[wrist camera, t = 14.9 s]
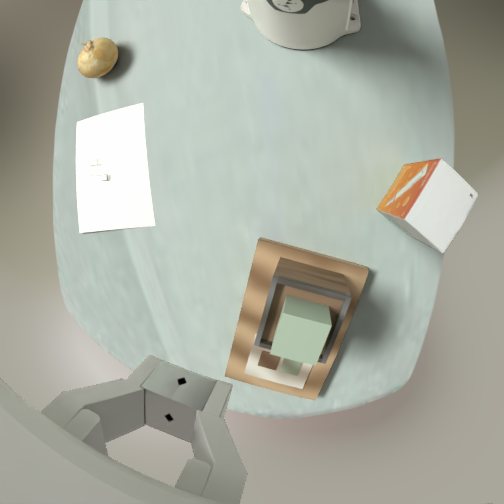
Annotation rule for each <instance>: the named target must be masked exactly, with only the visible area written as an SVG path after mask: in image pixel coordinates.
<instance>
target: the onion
mask: <svg viewBox="0 0 504 504" xmlns="http://www.w3.org/2000/svg"><path fill="white" fill-rule="evenodd" d="M82 45H85V47H84V48H83V50H82V51H81V53H80V55H79V57H78V69H79V71H80V72H81V74H82V75H84V76H85V77H88V78H98V77H101V76H103V75H105V74H106V73H108V72H109V71H110V70H111V69H112V68H113V67H114V65H115V63H116V61H117V58H118V49H117V46H116V45H115V43H114V42H113V41H111V40H110V39H108V38H97V39H95V40H93V41H91V40H89V41H88V42H87V43H86V44H83V43H82Z"/></svg>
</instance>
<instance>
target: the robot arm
mask: <svg viewBox="0 0 504 504" xmlns="http://www.w3.org/2000/svg"><path fill="white" fill-rule="evenodd" d="M241 11H242V12H243V13H244V14H245V15H246V16H248V17H249V18H251V19H252V20H253V21H254V23H255V25H256V27H257V28H258V30H259V31H260V33H261V34H262V35H263V36H264V37H266V38H267V39H268V40H270V41H272V42H273V43H275V44H278V45H280V46H283V47H287V48H292V49H315V48H320V47H323V46H326V45H328V44H330V43H332V42H334V41H335V40H336V39H338V38H339V37H341V36H342V35H345V34H350V33H355V32H357V31H359V30H360V28H361V22H360V14H359V7H358V0H244V1H243V3H242V4H241ZM351 18H352V19H354V20H351ZM232 387H233V385H232V384H230V383H226V382H223V381H220V380H216V379H213V378H210V377H206V376H203V375H200V374H198V373H195V372H192V371H189V370H186V369H184V368H181V367H179V366H176V365H174V364H171V363H169V362H166V361H164V360H161V359H159V358H156V357H154V356H152V355H149V356H147V357H146V358H145V359H144V360H143V361H142V363H141V364H140V365H139V366H138V367H137V368H136V369H135V370H134V371H133V373H132V374H131V375H130V376H129V377H128V378H127V379H126V380H124V379H118V380H114V381H110V382H106V383H102V384H97V385H93V386H88V387H84V388H79V389H74V390H69V391H64V392H62V393H61V394H60V395H59V396H57V397H56V398H55V399H54V400H53V401H52V402H51V403H50V404H49V405H48V406H47V407H46V408H45V409H43V410H42V411H41V412H39V411H38V410H37V409H35V408H34V407H33V406H32V405H30V404H29V403H28V402H27V401H26V400H24V399H23V398H22V397H21V396H20V395H18V394H17V393H16V392H15V391H14V390H13V389H12V388H11V387H9V386H8V385H7V384H6V383H5V382H4V381H3V380H2V379H1V378H0V504H239V503H240V499H241V496H242V493H243V489H244V485H245V482H246V478H247V474H248V473H247V471H246V469H245V467H244V464H243V462H242V460H241V458H240V455H239V453H238V451H237V448H236V446H235V444H234V442H233V439H232V437H231V434H230V432H229V430H228V427H227V425H226V422H225V420H224V419H223V418H224V415H225V412H226V409H227V405H228V402H229V398H230V394H231V391H232ZM144 425H148V426H150V427H153V428H155V429H158V430H160V431H163V432H165V433H168V434H170V435H173V436H175V437H177V438H180V439H182V440H185V441H187V442H190V443H192V449H193V453H194V457H195V459H194V458H193V459H190V460H188V461H187V463H186V465H185V467H184V469H183V471H182V473H181V475H180V477H179V479H178V481H177V483H176V485H175V487H173V486H170V485H168V484H165V483H163V482H160V481H158V480H155V479H153V478H151V477H148V476H146V475H144V474H142V473H140V472H138V471H136V470H134V469H131V468H129V467H127V466H125V465H123V464H121V463H119V462H117V461H116V460H114V459H112V458H110V457H108V453H107V449H106V444H105V443H106V442H109V441H111V440H113V439H116V438H118V437H120V436H123V435H125V434H127V433H130V432H132V431H134V430H136V429H138V428H140V427H142V426H144ZM485 504H492V503H485Z"/></svg>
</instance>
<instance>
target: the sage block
mask: <svg viewBox="0 0 504 504" xmlns="http://www.w3.org/2000/svg"><path fill="white" fill-rule="evenodd" d="M331 326H332V324H331V318H330V311H329V306H327V305H323V304H319V303H315V302H312V301H308V300H304V299H300V298H297V297H293V296H289V295H286V298H285V302H284V305H283V308H282V312H281V315H280V318H279V321H278V325H277V328H276V331H275V335H274V339H273V343H272V348H271V352H270V354H272V355H275V356H279V357H283V358H286V359H290V360H294V361H298V362H302V363H306V364H310V365H315V366H316V364H317V361H318V359H319V356H320V354H321V352H322V349H323V347H324V344H325V342H326V339H327V337H328V334H329V331H330V329H331Z"/></svg>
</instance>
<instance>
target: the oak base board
mask: <svg viewBox="0 0 504 504" xmlns="http://www.w3.org/2000/svg"><path fill="white" fill-rule="evenodd" d="M368 272H369V269H368V268H367V267H366V266H363V265H359V264H355V263H352V262H348V261H345V260H341V259H338V258H334V257H331V256H327V255H323V254H320V253H316V252H312V251H309V250H305V249H302V248H298V247H294V246H291V245H287V244H283V243H280V242H276V241H272V240H268V239H265V238H261V237H260V238H259V239H258V242H257V246H256V251H255V255H254V259H253V263H252V267H251V271H250V275H249V279H248V283H247V288H246V292H245V296H244V300H243V304H242V308H241V312H240V316H239V320H238V324H237V328H236V332H235V336H234V341H233V345H232V349H231V353H230V357H229V361H228V365H227V369H226V373H225V377H229V378H232V379H235V380H238V381H242V382H245V383H248V384H252V385H255V386H259V387H263V388H266V389H270V390H274V391H278V392H282V393H286V394H290V395H294V396H298V397H303V398H307V399H312V400H316V398H317V396H318V394H319V392H320V390H321V388H322V386H323V383H324V381H325V379H326V377H327V375H328V373H329V371H330V368H331V366H332V364H333V362H334V360H335V357H336V355H337V353H338V350H339V348H340V346H341V343H342V341H343V339H344V336H345V334H346V331H347V329H348V326H349V324H350V321H351V319H352V316H353V314H354V311H355V309H356V306H357V303H358V301H359V298H360V295H361V292H362V290H363V287H364V284H365V281H366V278H367V275H368ZM286 295H289V296H293V297H297V298H300V299H304V300H308V301H312V302H315V303H319V304H323V305H327V306H329V311H330V318H331V324H332V326H331V329H330V331H329V334H328V337H327V339H326V342H325V344H324V347H323V349H322V352H321V354H320V356H319V359H318V361H317V364H316V366H315V365H310V364H306V363H302V362H298V361H294V360H290V359H286V358H283V357H279V356H275V355H272V354H270V352H271V348H272V343H273V339H274V335H275V331H276V328H277V325H278V321H279V318H280V315H281V312H282V308H283V305H284V302H285V298H286Z"/></svg>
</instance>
